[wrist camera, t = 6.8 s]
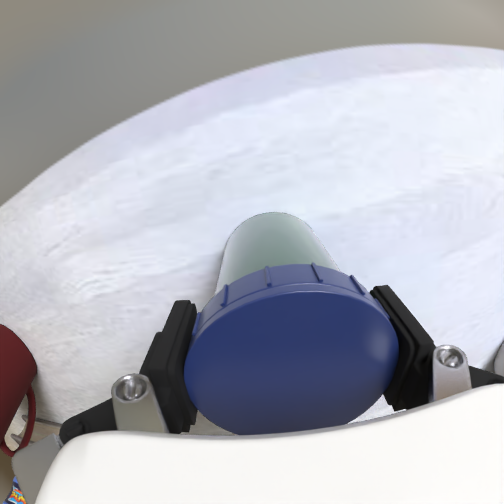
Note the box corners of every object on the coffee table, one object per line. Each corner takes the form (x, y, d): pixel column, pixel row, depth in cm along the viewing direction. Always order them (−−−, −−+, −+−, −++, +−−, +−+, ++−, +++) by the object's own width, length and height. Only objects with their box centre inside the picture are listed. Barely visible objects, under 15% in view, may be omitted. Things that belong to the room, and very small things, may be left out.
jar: (320, 208, 16) (391, 280, 8) (321, 297, 19) (364, 409, 10) (217, 216, 17) (182, 300, 8) (230, 306, 19) (217, 424, 10)
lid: (173, 269, 8) (158, 297, 7) (395, 254, 8) (420, 277, 7) (208, 412, 11) (204, 443, 9) (364, 398, 11) (374, 426, 9)
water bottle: (62, 480, 38) (37, 553, 15) (31, 463, 37) (3, 532, 14) (52, 468, 35) (23, 549, 11) (19, 448, 34) (-14, 524, 10)
